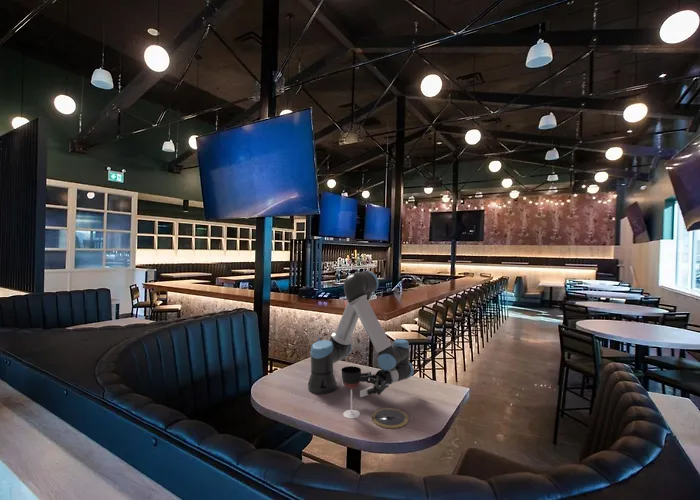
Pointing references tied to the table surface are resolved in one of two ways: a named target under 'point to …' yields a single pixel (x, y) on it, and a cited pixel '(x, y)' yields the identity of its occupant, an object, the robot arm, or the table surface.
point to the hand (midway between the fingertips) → (351, 388)
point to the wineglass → (351, 386)
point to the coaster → (390, 418)
